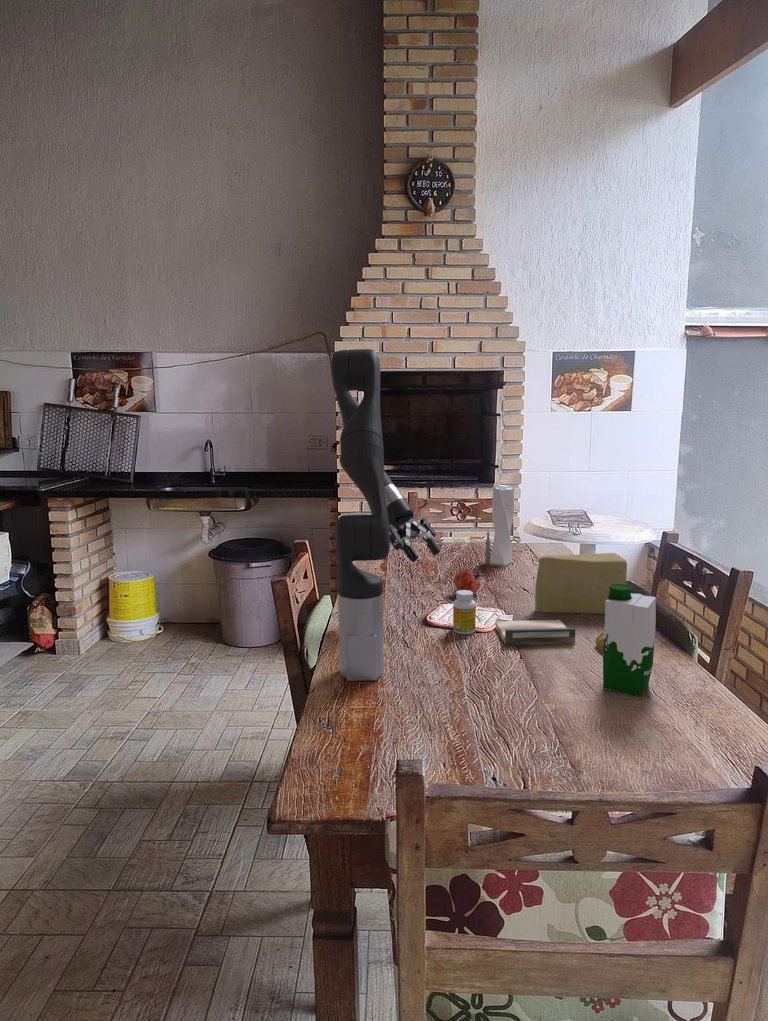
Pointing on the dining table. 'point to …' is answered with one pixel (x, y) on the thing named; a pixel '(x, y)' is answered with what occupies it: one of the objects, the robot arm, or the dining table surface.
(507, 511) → the skyscraper
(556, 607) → the cheese
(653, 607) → the milk carton
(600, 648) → the pastry
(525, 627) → the shelf board
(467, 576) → the pomegranate
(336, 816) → the dining table surface
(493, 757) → the dining table surface
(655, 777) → the dining table surface
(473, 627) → the supplement bottle
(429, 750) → the dining table surface
